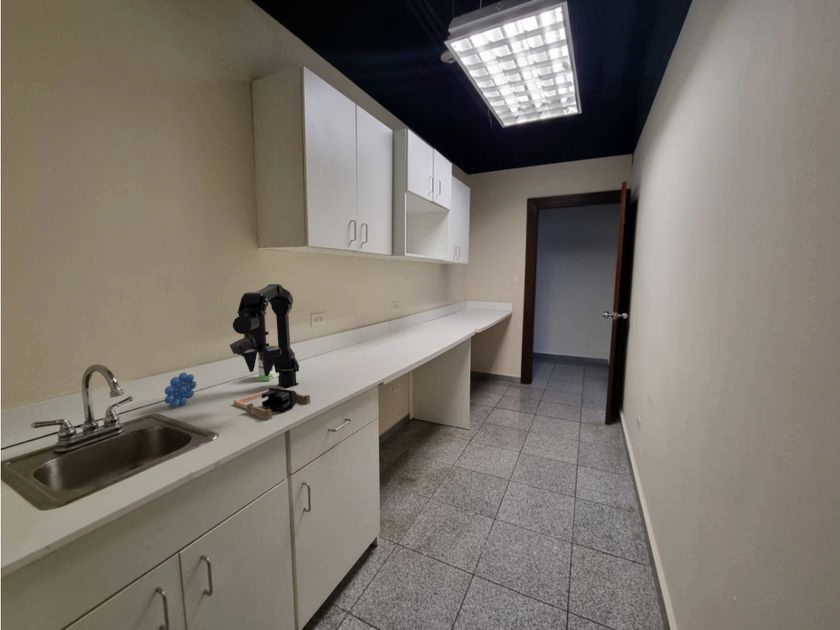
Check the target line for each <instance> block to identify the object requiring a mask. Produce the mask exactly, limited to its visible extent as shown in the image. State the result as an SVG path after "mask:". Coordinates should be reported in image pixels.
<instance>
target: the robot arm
mask: <svg viewBox="0 0 840 630" xmlns="http://www.w3.org/2000/svg"><path fill="white" fill-rule="evenodd" d="M293 304H294V297H293V295H292V294H291V291H289V290H287V289H285V288H284V286H282V285H281V284H279V283H275V284H274V283H270V284H267V285H266V286H265V287H263V288H261V289H260V290H258V291H249V292H245V293H243V295H242V296H241V298H240V302H239V306H238V310H237V315H238V316H236V318H235V319H234V320H233V323H232V328H233V330H234V331H235V333H237V334H239V335H243V338H241V339H238V340H236V341H234V342H232V343H230V344H229V347H230V349H231V353H232V354H233V355H238V356H241V357H242V358H243V359H244V361H245V363H246V366H247V369H248V371H249V373H253V372H254V371H255V370H254V369H255V366H256V361H257V358H258V355H259V356H260V358H259V359H260V360H261V361H262V362H263V368H264V374H265V376H268V375H269V373H270V371H271V369H272V367H273V364H274V368H275V372H276V373H279V376H277V378H278V379H277V380H278V383H277V384H276V386H277V387H281V388H283V389H288V388H292V387H294V386H298V385H299V384H300V383H299V382H297V372H299V371H300V365H299V362H298V360H297V359H296V355H295V352H294V350H292V348H291V336H290V321H289V319H290V318H289V314H290V312H291V311H292V309H293ZM269 305H270V307H271V310H272V312H273V313H274V314H275V316H276V318H275V319H276V330H277V332H276V333H277V334H276V335H277V346H275V345H271V346H270V343H269V342H267V336H268V335H269V331H266V330H267V328H266V315H267V312H266V310H267V308H268V306H269Z"/></svg>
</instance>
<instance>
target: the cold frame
mask: <svg viewBox="0 0 840 630" xmlns="http://www.w3.org/2000/svg"><path fill="white" fill-rule="evenodd" d="M296 402H298V403H302V404H305V405H309V404H310V403H311V395H310V394H305V395H304V394H300V393H297V401H296ZM246 411H247V414H251V415H253V416H257V417H260V418H261V419H262V418H263V419H265V420H267V421H269V420H273V415H272V414H273V413H272V411H271V410H270V409H267V410H265V409H263V408H261V407H258V406H256V405H254V403H247V409H246Z"/></svg>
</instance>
